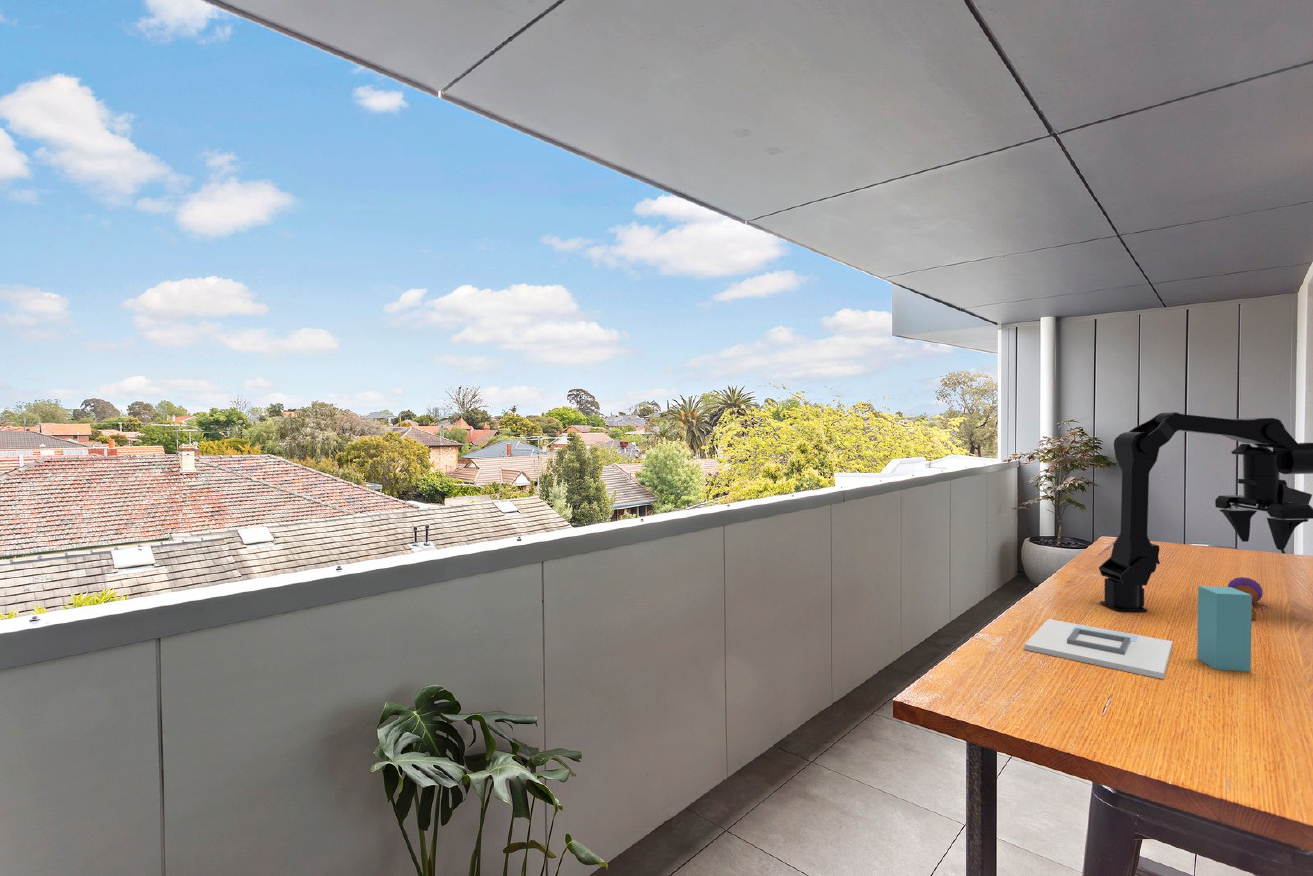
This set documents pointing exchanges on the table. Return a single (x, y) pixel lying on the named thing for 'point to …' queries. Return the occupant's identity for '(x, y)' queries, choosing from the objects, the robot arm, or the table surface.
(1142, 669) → the board
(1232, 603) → the column
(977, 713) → the table surface
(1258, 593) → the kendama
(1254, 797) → the table surface
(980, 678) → the table surface
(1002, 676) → the table surface
